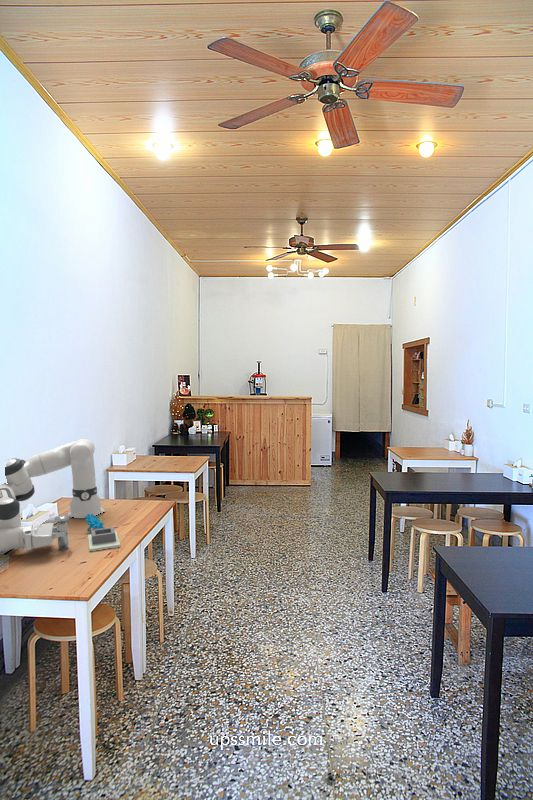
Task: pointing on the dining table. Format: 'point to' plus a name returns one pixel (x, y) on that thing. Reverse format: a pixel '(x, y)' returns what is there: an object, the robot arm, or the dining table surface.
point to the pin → (62, 527)
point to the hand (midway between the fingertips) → (64, 531)
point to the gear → (94, 522)
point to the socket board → (103, 539)
